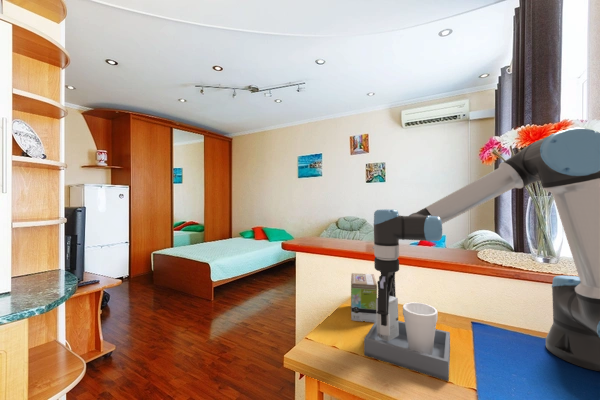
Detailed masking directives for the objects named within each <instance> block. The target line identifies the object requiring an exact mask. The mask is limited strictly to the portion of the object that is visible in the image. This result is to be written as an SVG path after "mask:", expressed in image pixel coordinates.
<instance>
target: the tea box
mask: <svg viewBox="0 0 600 400" xmlns="http://www.w3.org/2000/svg"><path fill="white" fill-rule="evenodd" d="M350 275H351V278H350V279H351V280H350V312H351V313H350V314H351V317H350V318H351V321H352V322H353V321H354V322H355V321H356V322H363V321H365V322H366V323H375V321H376V320H377V316H376V298H378V283H377V280H376V278H375V274H373V273H356V272H354V273H353V272H352V273H351V274H350Z"/></svg>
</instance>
